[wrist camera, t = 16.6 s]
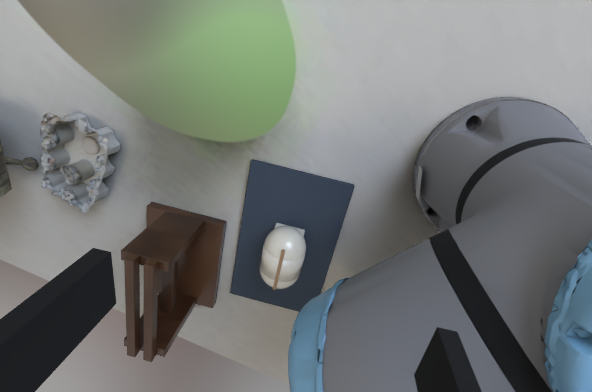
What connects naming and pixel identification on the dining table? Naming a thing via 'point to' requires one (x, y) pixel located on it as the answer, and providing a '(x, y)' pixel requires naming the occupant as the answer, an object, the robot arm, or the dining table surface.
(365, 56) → the dining table surface
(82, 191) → the egg carton
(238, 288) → the mat
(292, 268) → the white dome-topped canister
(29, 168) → the tabletop clock
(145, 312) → the rack
